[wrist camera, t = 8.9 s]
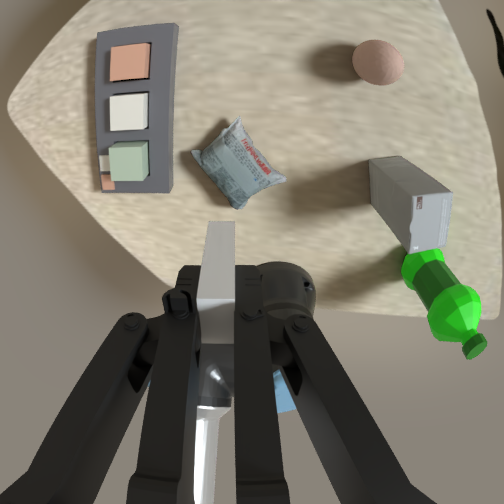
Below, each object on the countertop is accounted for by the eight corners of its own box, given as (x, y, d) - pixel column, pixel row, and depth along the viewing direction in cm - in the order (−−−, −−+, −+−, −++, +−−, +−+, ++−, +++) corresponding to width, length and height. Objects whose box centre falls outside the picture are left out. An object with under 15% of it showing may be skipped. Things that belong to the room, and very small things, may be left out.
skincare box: (401, 198, 46) (450, 248, 33) (365, 204, 47) (407, 259, 34) (401, 152, 42) (459, 191, 28) (363, 157, 42) (413, 199, 29)
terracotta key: (152, 77, 34) (143, 77, 30) (120, 79, 33) (109, 81, 30) (154, 45, 31) (145, 43, 28) (122, 48, 30) (111, 47, 27)
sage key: (150, 171, 41) (142, 180, 37) (121, 171, 40) (111, 181, 37) (149, 139, 38) (141, 146, 35) (119, 140, 37) (108, 148, 34)
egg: (386, 84, 35) (418, 90, 28) (346, 83, 36) (372, 87, 28) (383, 43, 32) (414, 41, 24) (341, 40, 32) (367, 34, 24)
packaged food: (239, 113, 38) (239, 118, 34) (285, 176, 44) (290, 188, 40) (191, 148, 41) (185, 158, 37) (239, 205, 47) (239, 220, 43)
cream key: (151, 124, 37) (143, 129, 34) (120, 125, 37) (110, 130, 34) (152, 91, 35) (143, 94, 31) (120, 94, 34) (109, 96, 31)
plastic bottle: (419, 280, 57) (472, 369, 37) (385, 270, 55) (438, 372, 35) (443, 243, 52) (509, 329, 31) (410, 229, 50) (482, 325, 29)
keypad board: (173, 185, 44) (168, 194, 41) (108, 185, 43) (100, 193, 40) (178, 26, 30) (173, 22, 27) (106, 34, 29) (96, 32, 26)
